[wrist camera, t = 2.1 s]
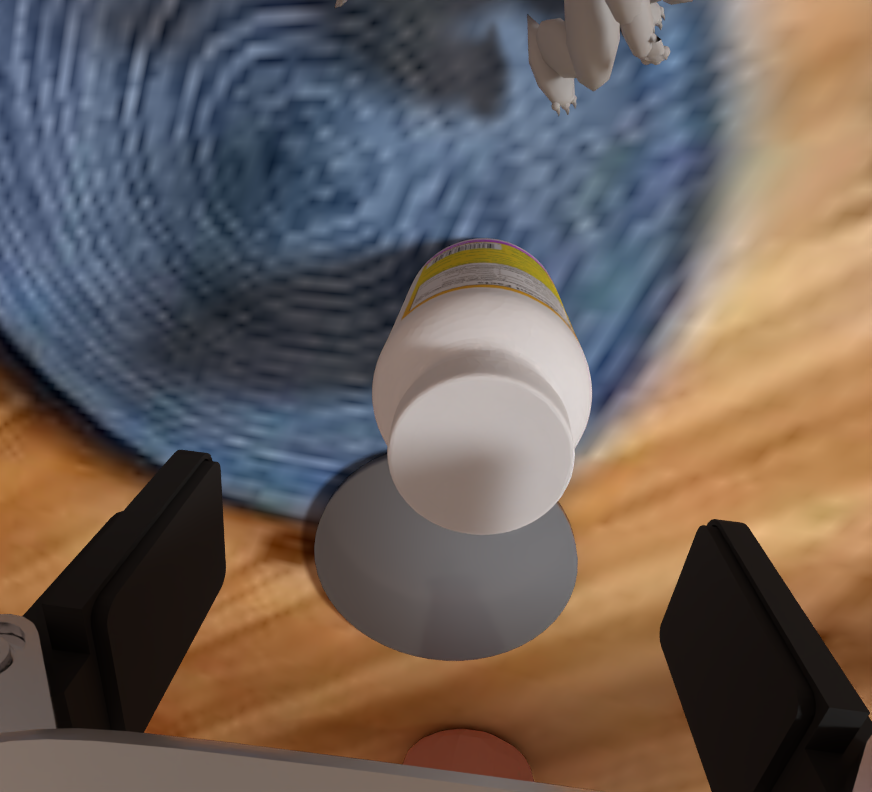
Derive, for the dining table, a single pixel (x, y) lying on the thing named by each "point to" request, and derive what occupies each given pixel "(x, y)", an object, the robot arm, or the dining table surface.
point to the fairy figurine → (590, 43)
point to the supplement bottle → (482, 390)
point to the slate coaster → (439, 573)
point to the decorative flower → (469, 754)
